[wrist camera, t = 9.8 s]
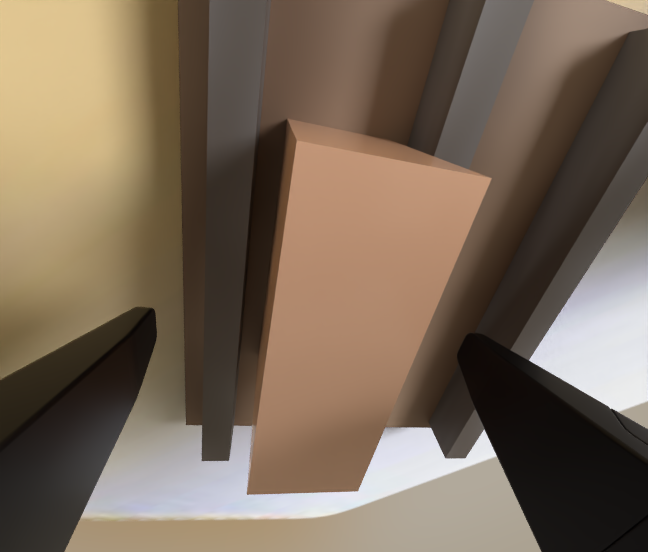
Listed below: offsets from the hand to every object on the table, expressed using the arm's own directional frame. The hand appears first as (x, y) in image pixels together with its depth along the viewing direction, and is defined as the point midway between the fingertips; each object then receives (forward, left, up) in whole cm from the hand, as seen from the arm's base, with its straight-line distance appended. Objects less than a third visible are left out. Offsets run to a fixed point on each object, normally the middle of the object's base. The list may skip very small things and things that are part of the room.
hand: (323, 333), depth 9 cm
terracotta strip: (0, 0, -4) cm, 4 cm away
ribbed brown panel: (-3, 0, -5) cm, 6 cm away
